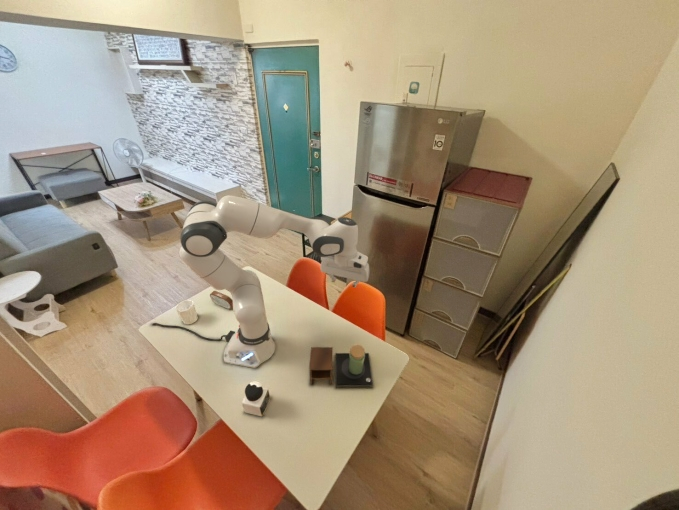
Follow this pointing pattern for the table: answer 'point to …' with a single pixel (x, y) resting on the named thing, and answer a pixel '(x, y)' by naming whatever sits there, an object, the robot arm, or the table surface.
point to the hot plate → (346, 377)
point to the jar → (356, 359)
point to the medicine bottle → (255, 399)
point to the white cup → (187, 311)
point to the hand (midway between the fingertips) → (343, 283)
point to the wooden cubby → (321, 363)
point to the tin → (221, 299)
